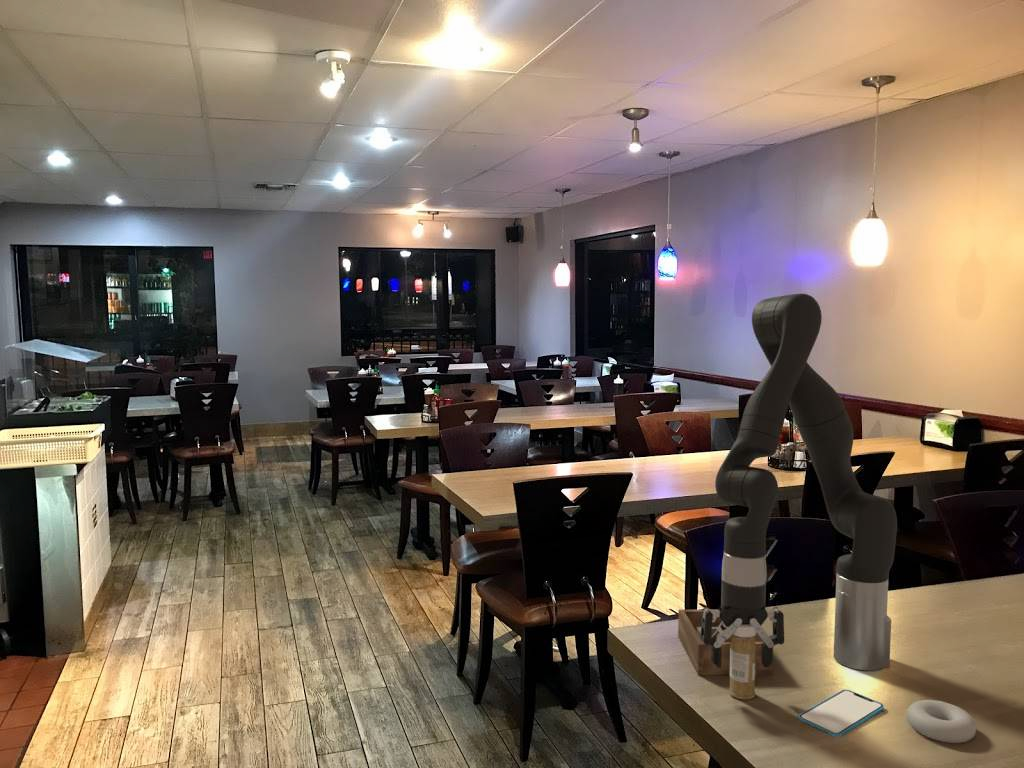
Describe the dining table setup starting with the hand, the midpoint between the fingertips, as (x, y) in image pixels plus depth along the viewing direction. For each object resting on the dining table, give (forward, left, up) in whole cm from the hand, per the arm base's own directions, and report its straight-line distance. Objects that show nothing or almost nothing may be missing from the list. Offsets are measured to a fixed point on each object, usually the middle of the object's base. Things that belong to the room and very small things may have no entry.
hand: (741, 665), depth 138 cm
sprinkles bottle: (0, 0, -6) cm, 6 cm away
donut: (-29, +12, -6) cm, 32 cm away
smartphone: (-15, +7, -6) cm, 18 cm away
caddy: (-1, -16, -5) cm, 17 cm away
